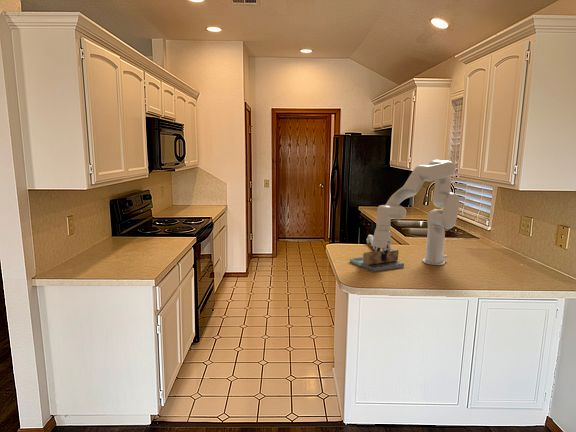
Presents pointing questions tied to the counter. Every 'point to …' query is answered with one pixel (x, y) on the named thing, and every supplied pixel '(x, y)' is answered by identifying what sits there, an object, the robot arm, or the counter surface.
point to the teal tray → (357, 261)
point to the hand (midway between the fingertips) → (381, 259)
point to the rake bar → (379, 256)
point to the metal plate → (383, 266)
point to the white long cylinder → (370, 240)
